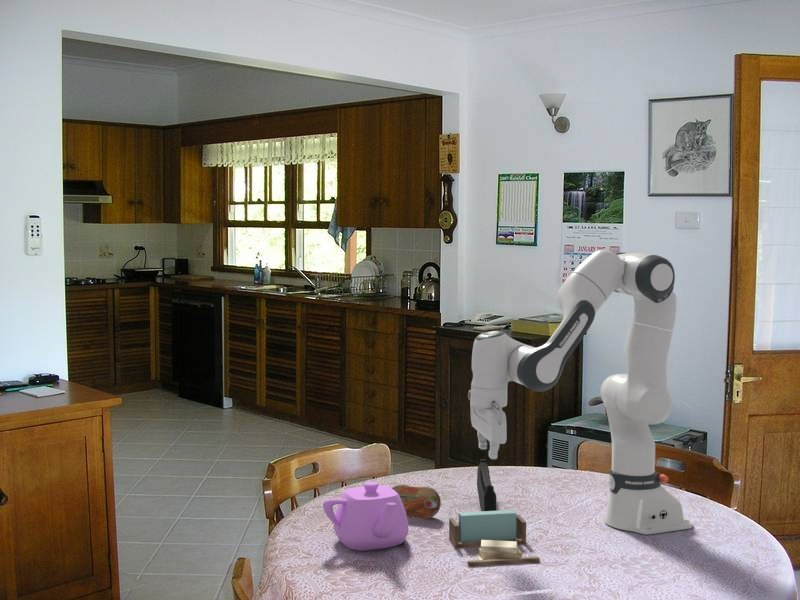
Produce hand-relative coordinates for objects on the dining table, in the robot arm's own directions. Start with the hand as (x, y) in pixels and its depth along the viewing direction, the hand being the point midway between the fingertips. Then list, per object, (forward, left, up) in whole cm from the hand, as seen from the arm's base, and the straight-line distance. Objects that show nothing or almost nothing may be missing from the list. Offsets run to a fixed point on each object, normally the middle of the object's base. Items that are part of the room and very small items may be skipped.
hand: (487, 453), depth 217 cm
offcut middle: (-1, +10, -22) cm, 24 cm away
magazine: (-7, -27, -23) cm, 36 cm away
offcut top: (0, +10, -21) cm, 23 cm away
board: (0, 0, -23) cm, 23 cm away
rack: (0, +5, -23) cm, 23 cm away
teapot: (+28, -5, -23) cm, 36 cm away
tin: (+14, -24, -23) cm, 36 cm away
